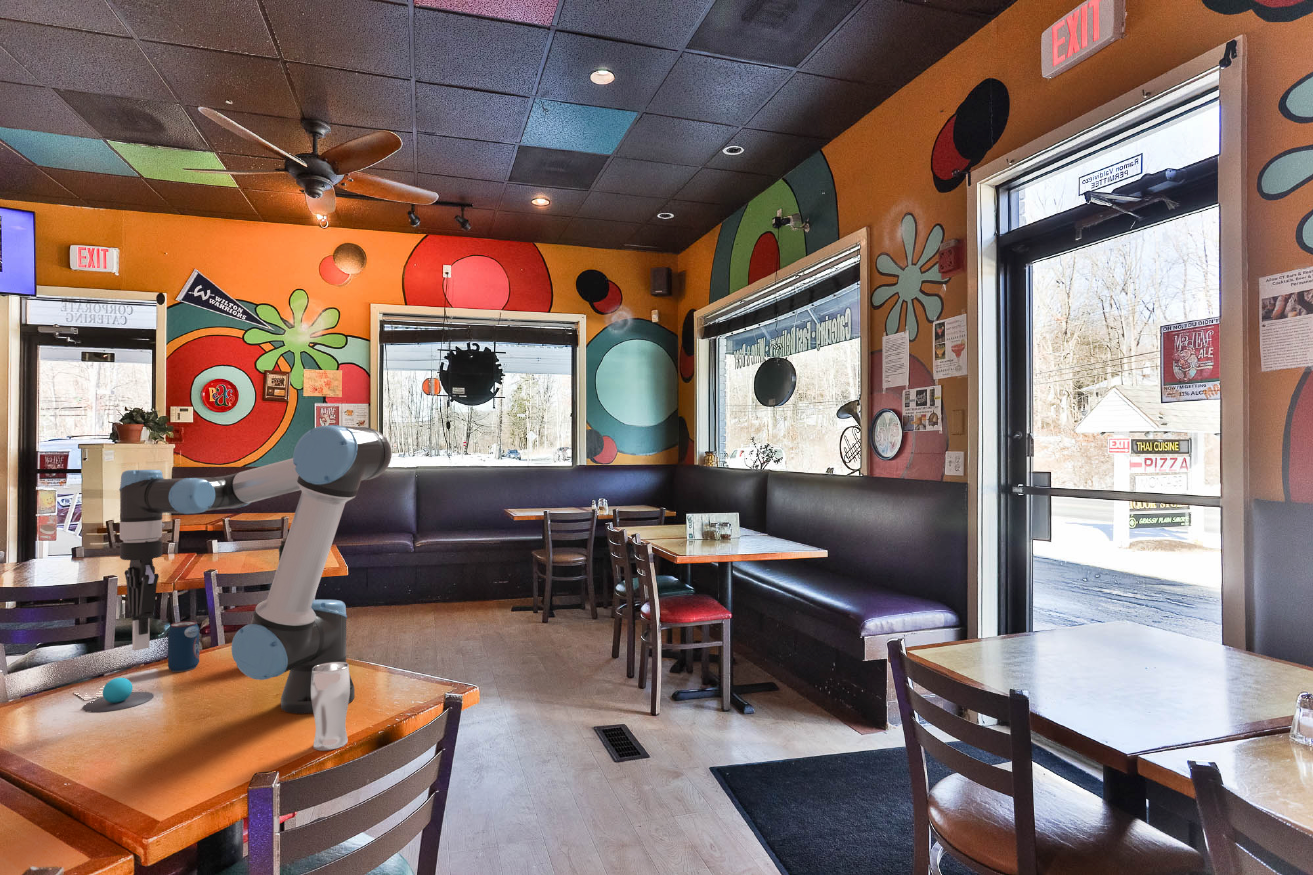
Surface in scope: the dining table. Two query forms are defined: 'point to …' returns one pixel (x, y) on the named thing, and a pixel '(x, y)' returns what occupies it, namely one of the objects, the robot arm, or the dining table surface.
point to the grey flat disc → (106, 706)
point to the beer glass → (330, 704)
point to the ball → (117, 690)
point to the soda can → (183, 646)
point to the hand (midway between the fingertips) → (141, 648)
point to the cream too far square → (90, 697)
